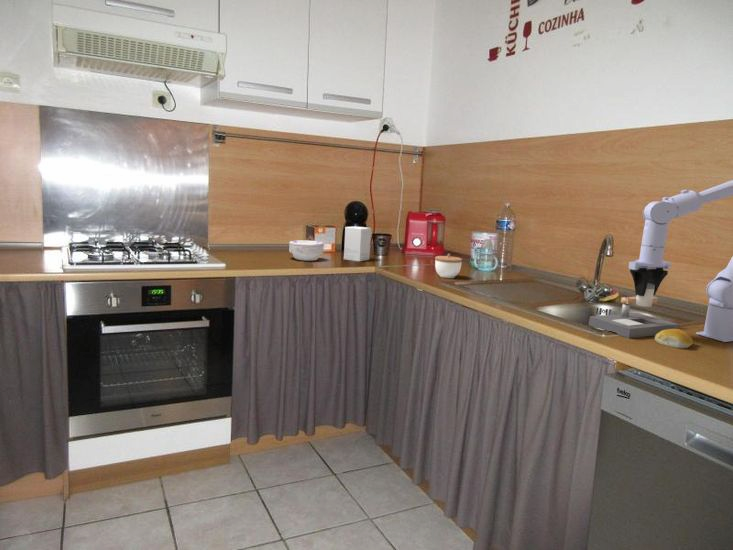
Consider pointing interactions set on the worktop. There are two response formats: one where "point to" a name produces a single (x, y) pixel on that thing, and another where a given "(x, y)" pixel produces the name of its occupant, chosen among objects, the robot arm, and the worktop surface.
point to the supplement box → (357, 243)
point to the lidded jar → (447, 266)
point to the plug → (646, 297)
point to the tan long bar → (634, 300)
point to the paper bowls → (306, 249)
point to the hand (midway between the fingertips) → (645, 295)
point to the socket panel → (631, 323)
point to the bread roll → (674, 338)
